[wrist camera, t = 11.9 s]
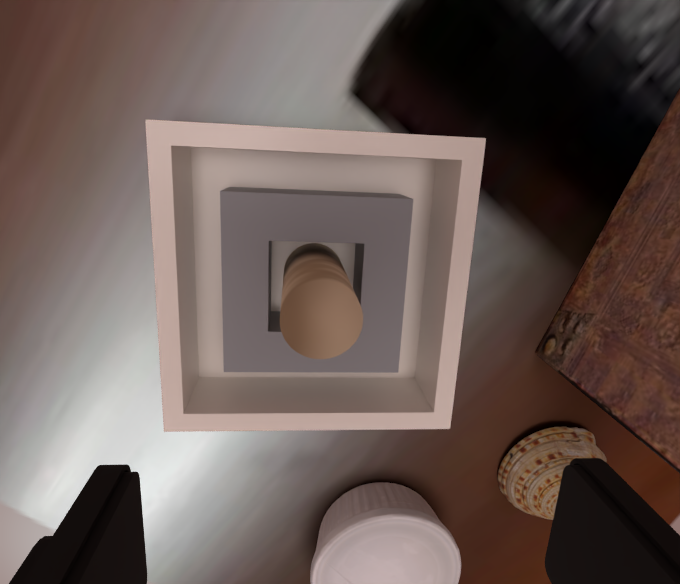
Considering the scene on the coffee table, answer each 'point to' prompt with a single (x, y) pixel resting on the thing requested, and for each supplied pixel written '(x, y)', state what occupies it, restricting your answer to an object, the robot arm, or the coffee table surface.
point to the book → (631, 304)
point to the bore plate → (312, 226)
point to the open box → (206, 271)
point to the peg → (318, 304)
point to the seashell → (543, 467)
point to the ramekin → (384, 540)
